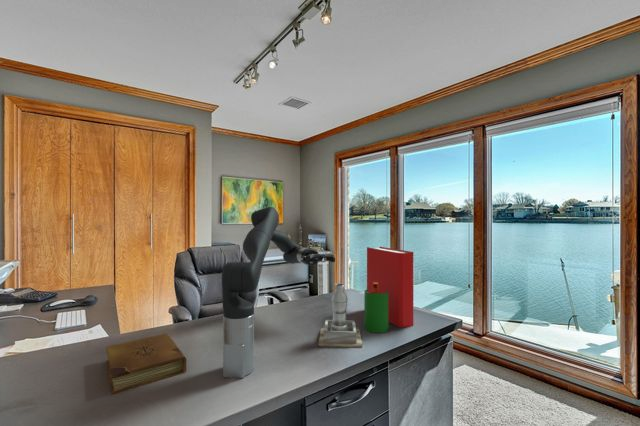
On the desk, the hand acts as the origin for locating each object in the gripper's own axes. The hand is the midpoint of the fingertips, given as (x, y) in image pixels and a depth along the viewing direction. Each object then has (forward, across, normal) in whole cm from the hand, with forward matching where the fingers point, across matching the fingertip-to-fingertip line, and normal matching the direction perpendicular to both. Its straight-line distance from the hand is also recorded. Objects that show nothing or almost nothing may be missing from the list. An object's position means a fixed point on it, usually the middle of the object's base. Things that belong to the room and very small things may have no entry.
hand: (325, 260), depth 128 cm
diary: (-2, -66, +30) cm, 72 cm away
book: (+1, +35, +29) cm, 45 cm away
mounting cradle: (+10, 0, +29) cm, 31 cm away
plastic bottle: (+10, 0, +29) cm, 30 cm away
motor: (+10, +19, +29) cm, 36 cm away
